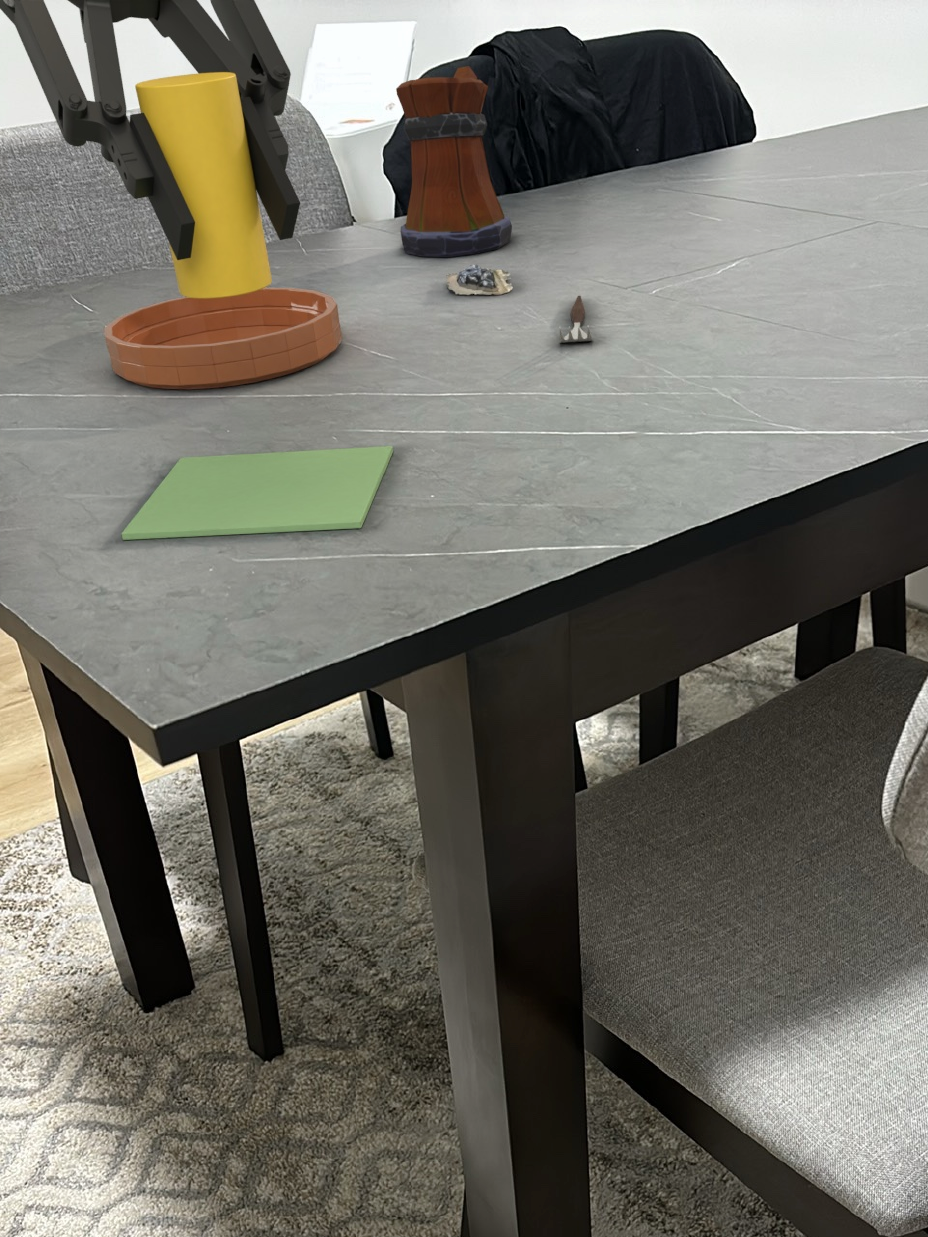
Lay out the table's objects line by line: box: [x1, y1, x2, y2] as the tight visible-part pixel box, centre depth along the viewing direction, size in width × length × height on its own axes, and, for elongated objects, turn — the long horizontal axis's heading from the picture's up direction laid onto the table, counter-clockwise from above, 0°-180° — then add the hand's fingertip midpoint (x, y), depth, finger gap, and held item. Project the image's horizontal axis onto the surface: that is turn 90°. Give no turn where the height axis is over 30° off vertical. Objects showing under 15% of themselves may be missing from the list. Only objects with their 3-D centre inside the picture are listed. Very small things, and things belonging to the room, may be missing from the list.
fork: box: [558, 295, 594, 344], centre depth 107 cm, size 3×16×2 cm, turn 177°
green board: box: [121, 445, 394, 541], centre depth 81 cm, size 14×13×1 cm
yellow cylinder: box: [134, 72, 273, 299], centre depth 72 cm, size 5×5×10 cm
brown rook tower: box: [395, 66, 513, 258], centre depth 134 cm, size 18×12×15 cm, turn 171°
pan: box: [104, 287, 343, 390], centre depth 107 cm, size 18×18×3 cm
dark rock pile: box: [445, 263, 514, 296], centre depth 120 cm, size 7×8×2 cm
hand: (238, 230), depth 71 cm, fingers closed on yellow cylinder, 5 cm apart
